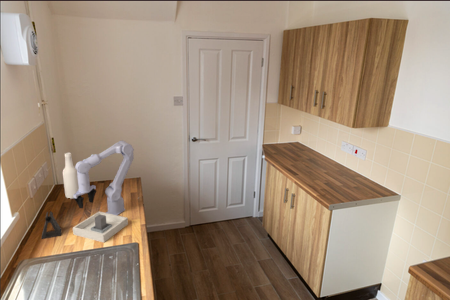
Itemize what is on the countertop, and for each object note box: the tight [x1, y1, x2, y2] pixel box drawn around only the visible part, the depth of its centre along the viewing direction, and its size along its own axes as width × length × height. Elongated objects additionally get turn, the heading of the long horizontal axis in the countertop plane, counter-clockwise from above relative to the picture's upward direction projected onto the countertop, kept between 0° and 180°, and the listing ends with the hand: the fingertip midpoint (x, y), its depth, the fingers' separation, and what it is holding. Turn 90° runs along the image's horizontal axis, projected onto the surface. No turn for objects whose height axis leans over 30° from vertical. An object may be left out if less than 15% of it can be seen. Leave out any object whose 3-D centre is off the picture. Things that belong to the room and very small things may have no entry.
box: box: [72, 211, 129, 243], centre depth 166 cm, size 20×20×4 cm
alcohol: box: [62, 152, 79, 200], centre depth 201 cm, size 9×9×30 cm
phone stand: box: [40, 211, 62, 240], centre depth 159 cm, size 9×6×12 cm, turn 115°
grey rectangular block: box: [95, 215, 107, 230], centre depth 166 cm, size 4×4×7 cm
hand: (86, 205), depth 173 cm, fingers open, 7 cm apart
